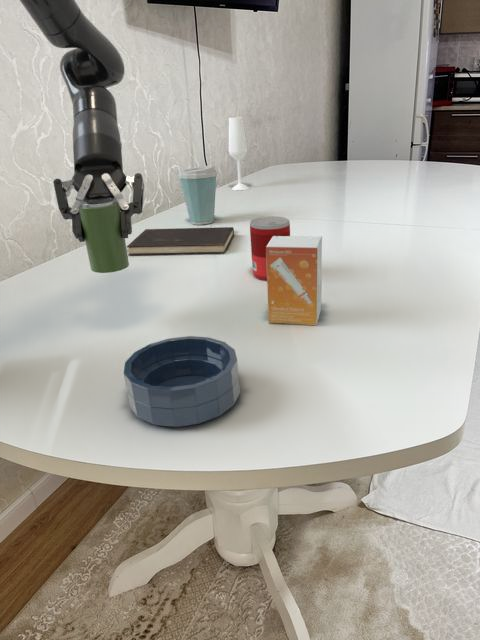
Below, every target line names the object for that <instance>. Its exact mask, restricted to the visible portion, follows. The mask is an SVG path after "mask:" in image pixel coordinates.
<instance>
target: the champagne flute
mask: <svg viewBox="0 0 480 640" xmlns="http://www.w3.org/2000/svg"><path fill="white" fill-rule="evenodd" d="M244 124H245V123H244V118H243V116H229V117H228V153H229V155H230V156H231V158H232V159H234V160H235V161H236V167H237V181H238V182H237V184H236V185H234V186H233V187H232V188H231V190H232V191H245V190H249V189H250V187H249V186H247V185H246V184H244V183H243V182H242V167H241V161H242V160H243V159H244V157H246V155H247V153H248V146H247V139H246V132H245V125H244Z"/></svg>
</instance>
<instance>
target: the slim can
mask: <svg viewBox="0 0 480 640" xmlns="http://www.w3.org/2000/svg"><path fill="white" fill-rule="evenodd" d="M80 204H81V205H79V206H78V208H79V213H80V218H81V223H82V227H83V232H84V237H85V247H86V252H87V256H88V257H87V258H88V263H89V266H90V270H91V271H92V272H93V273H97V274H109V273H116V272H120V271H123V270H126V269H127V268H129V266H130V262H129V256H128V249H127V244H126V243H127V242H126V238H123V235H122V230H121V217H120V207H119V202H118V201H116V199H115V198H110V197H101V198H92V199H87V200H84V201H81V202H80Z"/></svg>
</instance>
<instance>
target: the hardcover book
mask: <svg viewBox="0 0 480 640" xmlns="http://www.w3.org/2000/svg"><path fill="white" fill-rule="evenodd" d="M234 237H235V228H234V226H225V227H224V226H223V227H221V226H219V227H217V226H216V227H182V228H181V227H180V228H179V227H178V228H176V227H175V228H146V229H145V230H142V232H140V233H139V234H138V236H136V237H135V238H134V239H133V240H132V241H131V242H129V244H127V245H126V249H127V248H128V251H129V253H127V255H128V257H133V256H181V255H184V256H185V255H187V256H188V255H225V254H226V252H227V250H228V248H229V246H230V244H231V242H232V241H233V238H234Z"/></svg>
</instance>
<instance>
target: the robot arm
mask: <svg viewBox="0 0 480 640" xmlns="http://www.w3.org/2000/svg"><path fill="white" fill-rule="evenodd" d="M19 2H20V3H21V5H22V6H23V7H24V8H25V10H26V12H27V13H28V14H29V16H30V17H31V19H32V20H33V21H34V23H35V24H36V26H37V27H38V29H39V30H40V32H41V33H42V34H43V36H44V37H45V38H46V40H47V41H48V42H49V44H51V45H52V46H54V47H55V48H57V49H71V50H68V51H66V52H65V53H64V54H63V55H62V56H61V59H60V61H59V71H60V74H61V77H62V79H63V81H64V83H65V86H66V88H67V91H68V94H69V97H70V101H71V104H72V114H73V115H72V118H73V126H72V150H73V151H72V152H73V153H72V154H73V171H74V172H73V175H72V177H71V179H70V180H64V181H62V180H61V179H60V178H54V180H53V187H54V193H55V197H56V202H57V207H58V210H59V212H60V215H61V217H62V218H63V219H64V220H71V227H72V228H71V229H72V230H71V231H72V233H73V236H74V237H75V239H77V240H78V241H79V243H84V242H85V237H84V232H83V227H82V223H81V218H80V213H79V208H78V206H79V205H81V204H80V202H81V201H84V200H87V199H92V198H101V197H110V198H115V199H116V201H118V202H119V207H120V217H121V230H122V235H123V238H125V239H129V235H132V233H133V226H132V216H134V215H135V214H137V215H140V214H142V213H143V209H144V208H143V207H144V194H145V193H144V191H145V183H144V178H143V175H142V173H141V172H138V173H135V174H134V175H133V176H130V175H126V173H124V167H123V166H124V165H123V153H122V149H123V145H122V140H121V133H120V129H119V123H118V112H117V104H116V103H117V102H116V99H115V97H114V95H113V93H112V92H111V90H109V88H111V87H114V86H116V85H118V84H120V83H121V82H122V81H123V79H124V76H125V63H124V60H123V57H122V55H121V53H120V52H119V50H118V48H116V46H115V44H113V43H112V42H111V40H110V39H108V37H106V36H105V35H104V33H102V31H100V30H99V29H98V28H97V27H96V25H94V24H93V22H91V20H90V19H89V18H88V17H87V16H86V15H85V14H84V13H83V11H82V9H81V8H80V7H79V5H78V3H77V1H76V0H19ZM127 185H128V186H129V188H130V190H131V191H132V202H129V203H128V202H127V200H126V199H125V197H124V196H123V194H122V192H123V191H124V189H125V188H126V187H127ZM72 190H75V191H76V192H77V193H76V195H75V200H74V203H73V205H72V207H70V206H69V201H68V197H70V195H71V191H72ZM85 243H86V242H85Z"/></svg>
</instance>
